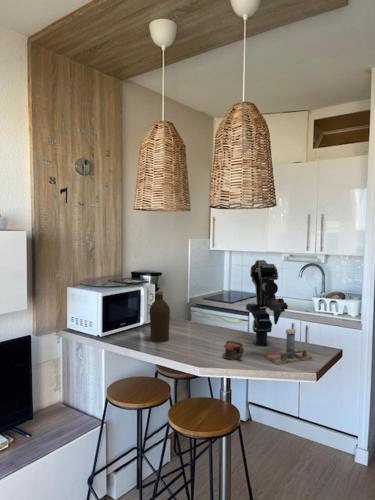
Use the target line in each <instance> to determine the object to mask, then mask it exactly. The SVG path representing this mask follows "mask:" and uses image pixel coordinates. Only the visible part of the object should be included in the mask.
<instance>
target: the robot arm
mask: <svg viewBox="0 0 375 500" xmlns="http://www.w3.org/2000/svg"><path fill="white" fill-rule="evenodd" d="M249 274H250V278H251V282H252V283H253V284H254V287H255V300H256V302H255V303H254V302H253V303H247V304H246V306H245V310H246V311H248V312H249V313H251V315H252V317H253V321H252V331H253V333H255V340H254V343H253V345H255V346H256V345H257V346H266V347H267V346H268V345H269V344H270V343H269V340H268V333H271V332H272V327H273V323H274V325H278V322H279V319H280V316H281V315H282V313H283V312H285V311H286V310H288V302H285V299H284V298H282V297H281V298H276V294H277V292H278V291H279V286H278V284H277V283H276V282H275V280H276V281H277V280H278V279H279V271H278V269H277V266H275V264H274V263H268V262H267V261H266V260H263V259H262V260H260V259H257V260H255V263H254V264H253V265H251V267H250V271H249ZM266 309H269V310H270V311H273V322H272V320H271V317H270V314H269V312H267V310H266Z"/></svg>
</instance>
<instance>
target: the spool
mask: <svg viewBox="0 0 375 500" xmlns="http://www.w3.org/2000/svg"><path fill="white" fill-rule="evenodd" d="M285 333H286V350H285V351H286V352H292V351H295V350H296V349H295V347H296V346H295V345H296V344H295V342H296V341H295V340H296V338H295V335H296V330H295V329H291V328H287V329H285ZM285 359H286V360H287V362H296V357H295V354H287V355H286V358H285Z"/></svg>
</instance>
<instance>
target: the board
mask: <svg viewBox="0 0 375 500" xmlns="http://www.w3.org/2000/svg"><path fill="white" fill-rule="evenodd" d="M287 354H295V359H296V358H297V359H298V360H300V361H302V362H306V361H312V360H313V355H311V354H308V353H307V349H301V350H300V349H295V351H292V352H286V350H283V351H277V352H267V353H263V358H265V359H267V360H269V361H270V362H271V363H272V364H275V365H283V364H287V363H288V361H287V360H286V355H287Z"/></svg>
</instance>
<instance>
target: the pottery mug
mask: <svg viewBox="0 0 375 500" xmlns="http://www.w3.org/2000/svg"><path fill="white" fill-rule="evenodd" d="M243 346H244V345H243V343H241V342H239V341H235V340H227V341H226V342H225V344H224V345H223V348H225V352H223V353H222V358H223V359H227V360H231V361H235V358H236V359H239V358H241V357H242V355H243V354H244V351H245V350H244V347H243Z"/></svg>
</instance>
